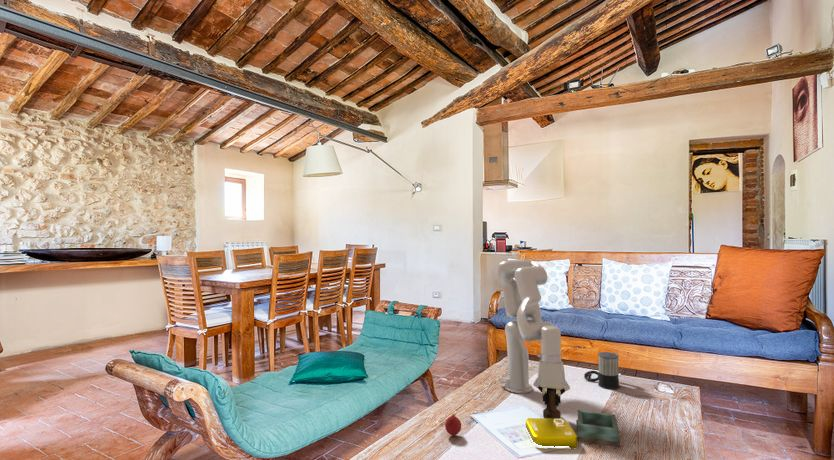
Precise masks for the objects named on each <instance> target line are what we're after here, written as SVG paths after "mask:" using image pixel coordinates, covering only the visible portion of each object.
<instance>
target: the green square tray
mask: <svg viewBox="0 0 834 460" xmlns="http://www.w3.org/2000/svg"><path fill="white" fill-rule="evenodd" d="M575 423H576V428H575V429H576V435H577V442H579V441H580V442H581V443H586V444H592V445H593V444H594V445H601V446H607V447H614V448H619V449H621V448H622V442H621V437H620V430H619V426H618V422H617V416H616V414H615V413H614V414H613V413H604V412H597V411H588V410H583V409H582V410H580V409H577V419H576V422H575Z"/></svg>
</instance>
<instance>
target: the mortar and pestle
mask: <svg viewBox="0 0 834 460" xmlns="http://www.w3.org/2000/svg"><path fill="white" fill-rule="evenodd" d="M546 393H547V404H546V407H545V408H544V409H543V411H542V413H543V414H542V416H543V417H542V418H562V413H561V411H560V410H559V409H558V406H557V389H552V388H546Z"/></svg>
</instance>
